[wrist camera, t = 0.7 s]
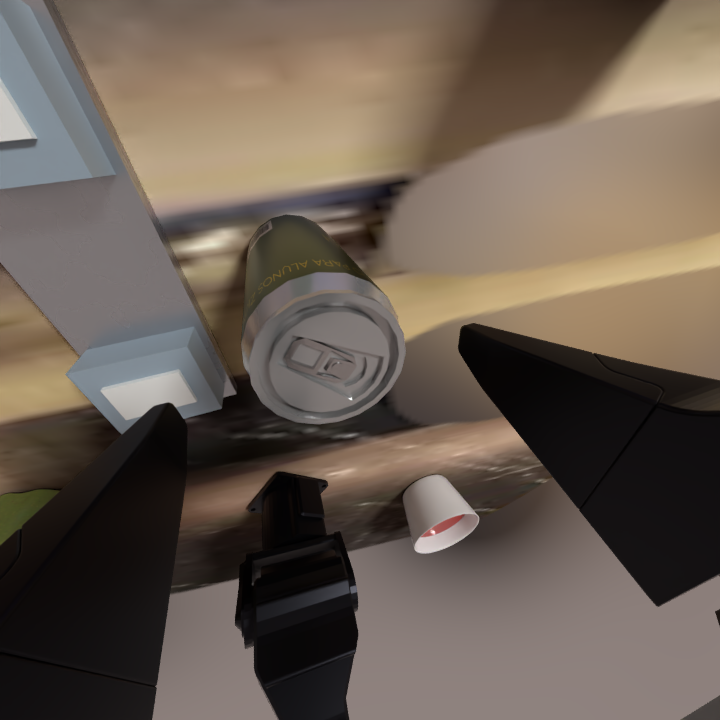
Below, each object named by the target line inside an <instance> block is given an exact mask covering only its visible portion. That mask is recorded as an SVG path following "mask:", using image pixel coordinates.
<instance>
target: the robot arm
mask: <svg viewBox="0 0 720 720" xmlns="http://www.w3.org/2000/svg"><path fill="white" fill-rule="evenodd" d="M458 349H459V353H460V354H461V356H462V358H463V359H464V361H465V363H466V364H467V366H468V367H469V369H470V370H471V372H472V374H473V375H474V377H475V378H476V380H477V382H478V383H479V384H480V386H481V387H482V389H483V390H484V391H485V393H486V394H487V395H488V397H489V398H490V399H491V400H492V402H493V403H494V404H495V405H496V407H497V408H498V409H499V410H500V412H501V413H502V414H503V415H504V417H505V418H506V419H507V420H508V422H509V423H510V424H511V425H512V427H513V428H514V429H515V430H516V432H517V433H518V434H519V435H520V437H521V438H522V439H523V440H524V442H525V443H526V444H527V445H528V447H529V448H530V449H531V450H532V452H533V453H534V454H535V455H536V457H537V458H538V459H539V460H540V462H541V463H542V464H543V465H544V467H545V468H546V469H547V470H548V472H549V473H550V474H551V475H552V477H553V478H554V479H555V480H556V482H557V483H558V484H559V485H560V487H561V488H562V489H563V490H564V492H565V493H566V494H567V495H568V497H569V498H570V499H571V500H572V502H573V503H574V504H575V505H576V507H577V508H579V511H580V512H581V513H582V514H583V516H584V517H585V518H586V519H587V521H588V522H589V523H590V524H591V526H592V527H593V528H594V529H595V531H596V532H597V533H598V534H599V536H600V537H601V538H602V539H603V541H604V542H605V543H606V544H607V546H608V547H609V548H610V549H611V551H612V552H613V553H614V554H615V556H616V557H617V558H618V560H619V561H620V562H621V563H622V564H623V566H624V567H625V568H626V570H627V571H628V572H629V573H630V575H631V576H632V577H633V578H634V580H635V581H636V582H637V583H638V585H639V586H640V587H641V588H642V589H643V591H644V592H645V593H646V595H647V596H648V597H649V598H650V599H651V600H652V601H653V603H654V604H655V605H656V606H658V607H659V606H661V605H663V604H665V603H667V602H669V601H671V600H672V599H674V598H676V597H678V596H680V595H682V594H684V593H686V592H688V591H690V590H692V589H693V588H696V587H697V586H699V585H701V584H703V583H705V582H707V581H709V580H711V579H713V578H715V577H717V576H720V380H716V379H711V378H706V377H701V376H697V375H691V374H687V373H682V372H677V371H672V370H666V369H662V368H657V367H653V366H647V365H643V364H638V363H634V362H630V361H625V360H621V359H617V358H613V357H609V356H604V355H601V354H597V353H594V354H592V352H588V351H584V350H580V349H576V348H572V347H568V346H564V345H560V344H556V343H552V342H548V341H544V340H540V339H536V338H532V337H528V336H524V335H520V334H516V333H512V332H508V331H504V330H500V329H496V328H492V327H488V326H484V325H480V324H475V323H472V324H468V325H464V326H462V327H461V329H460V336H459V345H458ZM186 476H187V424H186V422H185V420H184V419H183V417H182V416H181V414H180V413H179V411H178V410H177V409H176V407H175V406H174V405H173V404H172V403H170V402H167V403H163V404H159V405H155V406H153V407H152V408H151V409H150V410H148V411H147V412H146V413H145V414H144V415H143V416H142V417H141V418H140V419H139V420H137V421H136V422H135V423H134V424H133V425H132V426H131V427H130V428H129V429H128V430H126V431H125V432H124V433H123V434H122V435H121V436H120V437H119V438H118V439H117V440H115V441H114V442H113V443H112V444H111V445H110V446H109V447H108V448H107V449H106V450H104V451H103V452H102V453H101V454H100V455H99V456H98V457H97V458H96V459H95V460H93V461H92V462H91V463H90V464H89V465H88V466H87V467H86V468H85V469H84V470H82V471H81V472H80V473H79V474H78V475H77V476H76V477H75V478H74V479H73V480H71V481H70V482H69V483H68V484H67V485H66V486H65V487H64V488H63V489H62V490H60V491H59V492H58V493H57V494H56V495H55V496H54V497H53V498H52V499H51V500H49V501H48V502H47V503H46V504H45V505H44V506H43V507H42V508H41V509H40V510H38V511H37V512H36V513H35V514H34V515H33V516H32V517H31V518H30V519H29V520H27V521H26V522H25V523H24V524H23V525H22V529H18V530H16V531H15V532H14V533H13V534H12V535H11V536H10V537H9V538H8V539H6V540H5V541H4V542H3V543H2V544H1V545H0V720H152V716H153V709H154V703H155V695H156V689H157V688H156V687H155V686H156V685H157V680H158V673H159V666H160V659H161V652H162V645H163V638H164V631H165V624H166V617H167V610H168V603H169V597H170V590H171V583H172V576H173V569H174V562H175V555H176V548H177V541H178V534H179V527H180V520H181V514H182V507H183V500H184V493H185V486H186ZM327 486H328V482H327V481H326V480H322V479H316V478H311V477H306V476H301V475H296V474H290V473H285V472H278V473H276V474H275V475H274V476H273V477H272V479H271V480H270V481H269V482H268V483H267V485H266V486H265V487H264V488H263V489H262V491H261V492H260V493H259V494H258V495H257V497H256V498H255V499H254V500H253V501H252V503H251V504H250V505H249V507H248V511H249V512H253V513H262V546H263V551H260V552H256V553H253V552H251V553H247V554H246V561H245V562H244V563H242V564H241V565H240V571H239V590H238V598H237V606H236V614H235V626H236V627H237V628H239V629H240V630H241V631H242V637H244V644H245V649H248V648H251V647H253V646H254V670H255V674H256V677H257V679H258V682H259V685H260V686H261V689H262V690H263V692H264V694H265V696H266V698H267V700H268V702H269V704H270V706H271V707H272V710H273V711H274V713H275V715H276V717H277V719H278V720H349V716H348V710H347V703H346V695H347V689H348V683H349V679H350V674H351V669H352V663H353V658H354V654H355V652H356V647H357V640H358V629H357V624H356V618H355V613H354V612H356V611H357V610H358V596H357V588H356V582H355V577H354V573H353V569H352V566H351V563H350V560H349V557H348V554H347V551H346V548H345V545H344V542H343V539H342V536H341V533H340V531H338V532H334V534H330V535H327V534H326V528H325V523H324V517H325V514H324V509H323V504H322V499H321V493H322V492H323V491H324V490H325V489H326V488H327ZM715 613H716V615H717V619H718V622H719V625H720V609H719V610H717V611H715ZM681 720H720V696H718V697H717V698H715V699H713V700H712V701H710V702H709V703H707V704H705V705H704V706H702V707H700V708H699V709H697V710H696V711H694V712H692V713H691V714H689V715H688V716H686V717H684V718H683V719H681Z"/></svg>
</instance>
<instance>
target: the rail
mask: <svg viewBox="0 0 720 720" xmlns="http://www.w3.org/2000/svg"><path fill="white" fill-rule="evenodd" d="M21 1H22V2H24V3H25V4H27V5H28V6H30V8H31V10H32V12H33V14H34V16H35V18H36V20H37V22H38V24H39V26H40V28H41V30H42V32H43V34H44V36H45V38H46V40H47V41H48V43H49V45H50V47H51V49H52V51H53V53H54V55H55V57H56V59H57V61H58V63H59V65H60V67H61V69H62V71H63V73H64V75H65V76H66V78H67V80H68V82H69V84H70V86H71V88H72V90H73V92H74V94H75V96H76V98H77V100H78V102H79V104H80V106H81V108H82V110H83V111H84V113H85V115H86V117H87V119H88V121H89V123H90V125H91V127H92V129H93V131H94V133H95V135H96V137H97V139H98V141H99V143H100V145H101V146H102V148H103V150H104V152H105V154H106V156H107V158H108V160H109V162H110V164H111V166H112V168H113V170H114V172H115V174H116V175H109V176H102V177H94V178H87V179H78V180H70V181H62V182H54V183H46V184H38V185H30V186H22V187H14V188H6V189H0V263H1V264H2V265H3V266H4V267H5V268H6V270H7V271H8V272H9V273H10V274H11V276H12V277H13V278H14V279H15V280H16V281H17V283H18V284H19V285H20V286H21V287H22V288H23V290H24V291H25V292H26V293H27V294H28V295H29V297H30V298H31V299H32V300H33V301H34V303H35V304H36V305H37V306H38V307H39V308H40V310H41V311H42V312H43V313H44V314H45V315H46V317H47V318H48V319H49V320H50V321H51V322H52V324H53V325H54V326H55V327H56V328H57V330H58V331H59V332H60V333H61V334H62V335H63V337H64V338H65V339H66V340H67V341H68V342H69V344H70V345H71V346H72V347H73V348H74V349H75V351H76V352H77V353H78V354H79V355H80V357H81V356H82V354H83V353H84V352H85V351H86V350H89V349H93V348H98V347H103V346H107V345H112V344H116V343H121V342H126V341H130V340H135V339H139V338H144V337H149V336H153V335H158V334H162V333H167V332H172V331H176V330H181V329H185V328H190V327H195V329H196V331H197V333H198V335H199V337H200V339H201V341H202V343H203V345H204V347H205V349H206V351H207V352H208V354H209V356H210V358H211V360H212V362H213V364H214V366H215V368H216V370H217V372H218V374H219V376H220V378H221V380H222V382H223V384H224V386H225V388H224V395H223V397H227V396H231V395H235V394H237V384H236V382H235V380H234V378H233V376H232V374H231V372H230V369H229V367H228V365H227V363H226V361H225V359H224V357H223V355H222V353H221V351H220V349H219V347H218V344H217V342H216V340H215V338H214V336H213V334H212V332H211V330H210V328H209V326H208V324H207V321H206V319H205V317H204V315H203V313H202V311H201V309H200V307H199V305H198V303H197V301H196V298H195V296H194V294H193V292H192V290H191V288H190V286H189V284H188V282H187V280H186V278H185V275H184V273H183V271H182V269H181V267H180V265H179V263H178V261H177V259H176V257H175V255H174V252H173V250H172V248H171V246H170V244H169V242H168V240H167V238H166V236H165V234H164V232H163V230H162V227H161V225H160V223H159V221H158V219H157V217H156V215H155V213H154V211H153V209H152V207H151V204H150V202H149V200H148V198H147V196H146V194H145V192H144V190H143V188H142V186H141V184H140V181H139V179H138V177H137V175H136V173H135V171H134V169H133V167H132V165H131V163H130V161H129V158H128V156H127V154H126V152H125V150H124V148H123V146H122V144H121V142H120V140H119V138H118V135H117V133H116V131H115V129H114V127H113V125H112V123H111V121H110V119H109V117H108V115H107V112H106V110H105V108H104V106H103V104H102V102H101V100H100V98H99V96H98V94H97V92H96V90H95V87H94V85H93V83H92V81H91V79H90V77H89V75H88V73H87V71H86V69H85V67H84V64H83V62H82V60H81V58H80V56H79V54H78V52H77V50H76V48H75V46H74V44H73V41H72V39H71V37H70V35H69V33H68V31H67V29H66V27H65V25H64V23H63V21H62V18H61V16H60V14H59V12H58V10H57V8H56V6H55V4H54V2H53V0H21Z"/></svg>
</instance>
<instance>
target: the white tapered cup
mask: <svg viewBox="0 0 720 720" xmlns="http://www.w3.org/2000/svg"><path fill="white" fill-rule="evenodd" d="M403 504H404V508H405V513H406V517H407V521H408V525H409V529H410V533H411V537H412V541H413V545H414V549H415V551H416V552H418V553H431V552H435V551H439V550H442V549H444V548H447V547H449V546H451V545H453V544H455V543H457V542H458V541H460V540H462V539H463V538H464V537H466V536H467V535H468V534H469V533H471V532H472V531H473V529H475V527H476V526H477V524H478V522H479V517H478V515H477V514H476V513H475V512H474V510H473V509H472V508H471V507H470V506H469V505H468V503H467V502H466V501H465V500H464V499H463V497H462V496H461V495H460V494H459V493H458V492H457V490H456V489H455V488H454V487H453V486H452V485H451V483H450V482H449V481H448V480H447V479H446V478H445V477H444V476H441V475H430V476H426V477H423V478H421V479H419V480H417V481H416V482H414V483H413V484H411V485H410V486H409V487H408V488H407V489H406V491H405V492H404V494H403Z"/></svg>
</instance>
